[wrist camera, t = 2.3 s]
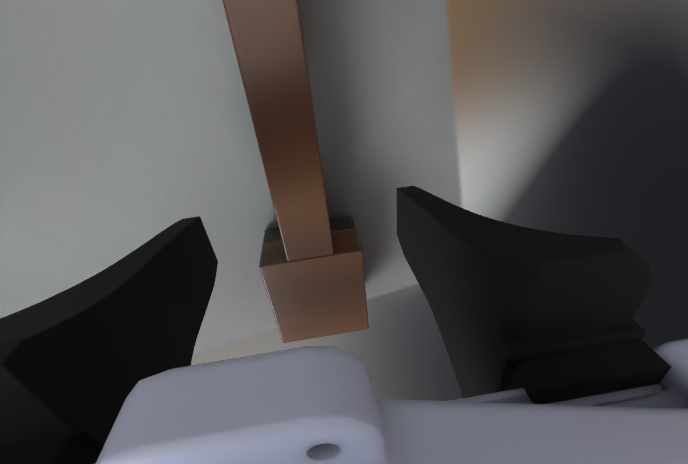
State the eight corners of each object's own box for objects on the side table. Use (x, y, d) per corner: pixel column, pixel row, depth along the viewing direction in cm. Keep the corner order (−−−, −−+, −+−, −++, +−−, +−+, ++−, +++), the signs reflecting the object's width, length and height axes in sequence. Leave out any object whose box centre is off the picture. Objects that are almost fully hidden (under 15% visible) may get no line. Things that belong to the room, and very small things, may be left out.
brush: (359, 289, 19) (368, 329, 16) (284, 301, 19) (282, 343, 16) (324, -71, 10) (332, -102, 8) (185, -56, 10) (149, -84, 8)
